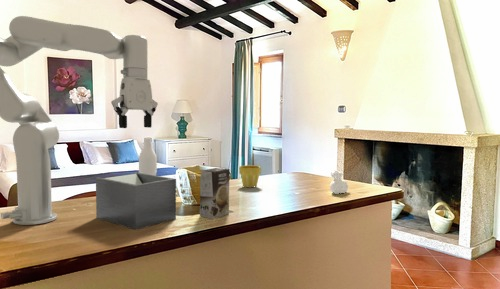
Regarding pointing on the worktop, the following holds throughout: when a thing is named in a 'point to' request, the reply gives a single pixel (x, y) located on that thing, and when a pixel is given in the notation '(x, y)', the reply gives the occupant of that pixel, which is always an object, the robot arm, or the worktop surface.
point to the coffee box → (214, 193)
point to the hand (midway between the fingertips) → (135, 127)
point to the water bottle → (148, 158)
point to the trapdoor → (127, 179)
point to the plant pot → (249, 175)
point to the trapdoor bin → (136, 201)
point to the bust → (338, 183)
